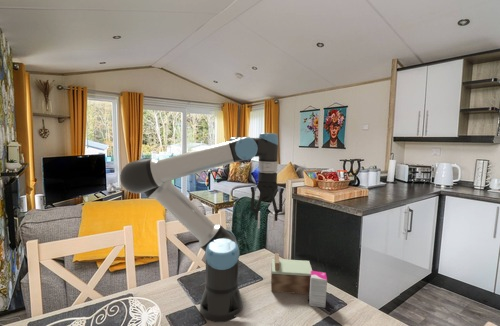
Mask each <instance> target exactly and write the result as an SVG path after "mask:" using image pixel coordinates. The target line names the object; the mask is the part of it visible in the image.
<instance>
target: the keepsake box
mask: <svg viewBox="0 0 500 326" xmlns="http://www.w3.org/2000/svg"><path fill="white" fill-rule="evenodd" d="M270 276H271V279H270V283H271V285H270V287H271V288H270V289H271V290H270V291H271V292H272V293H286V294H287V293H288V294H303V295H305V294H306V295H309V290H310V277H311V276H299V275H283V274H272V268H271V273H270Z"/></svg>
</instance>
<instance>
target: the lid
mask: <svg viewBox="0 0 500 326" xmlns="http://www.w3.org/2000/svg"><path fill="white" fill-rule="evenodd" d="M271 269H272V274H283V275H299V276H311V271H313V269H312V265H311V263H310V260H297V259H286V258H285V259H284V258H280V254H279V253H278V252H275V253H274V258H271Z"/></svg>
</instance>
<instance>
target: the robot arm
mask: <svg viewBox="0 0 500 326" xmlns="http://www.w3.org/2000/svg"><path fill="white" fill-rule="evenodd" d="M278 155H279V136H278V134H277V133H275V132H272V133H271V132H270V133H269V132H260V134H259V136H258V137H250V136H243V137H242V136H241V137H239V136H236V137H235V136H233V137H230V138H229V141H226V142H221V143H219V144H215V145H211V146H207V147H203V148H199V149H197V150H192V151H188V152H185V153H182V154H178V155H173V156H171V157H167V158H166V157H165V158H163V159H160V160H159V159H155V158H151V157H144V158H140V159H138V160H133V161H131V162H130V161H129V162H128V163H127V164H125V166H124V167H123V168H122V169H121V171H120V174H119V181H120V183H121V185H122V187H123V188H124V189H125V190H126V191H127V192H130V193H132V194H143V195H144V196H145V197H147V198H148V199H155V200H156V201H157V202H158V203H159V204H161V206H163V208H164V209H166V210H167V211H168V212H169V213H170V214H171V215H172V216H173V217H174V218H175V219H176V220H177V221H178V222H179V223H180V224H182V226H184V227H185V228H186V230H188V232H190V233H191V235H193V236H194V237H195V238H196V239H197V240H198V242H199V243H198V245H199V248H201V249H202V251H204V252H205V254H204V258H205V287H204V290H203V293H202V296H201V299H200V304H199V305H200V308H199V311H200V314H201V315H202V317H204V318H205V319H206V320H209V321H211V322H212V321H213V322H217V323H218V322H228V321H230V320H234V319H235V318H236V315H238V314H239V313H240V312H241V311H242V309H243V302H244V301H243V298H242V295H241V291H240V289H239V265H240V264H239V263H240V262H239V260H240V259H239V258H240V250H239V245H238V241H237V238H236V236H235V234H234V233H233V232H232V231H231V230H229V229H227V228H224V227H223V226H222V225H221V223H214V222H213V221H212V220H210V219H209V218H208V217H207V215H205V213H203V211H201V210H200V209H199V208H198V207H197V206H196V205H195V204H194V203H193V202H192V201H191V200H190V199H189V198H188V197H187V196H186V195H185V194H184V193H183V192H182V191H181V190H180V189H179V188H178V187H177V186H175V184H174V183H173V180H177V179H179V178H183V177H187V176H192V175H194V174H198V173H201V172H204V171H209V170H212V169H215V168H220V167H222V166H226V165H229V164H230V165H231V164H234V163H238V162H241V161H242V162H243V161H249V160H251V159H253V158H254V157H255V158H258V174H257V175H258V176H257V184H256V185H251V186H250V191H251V200H250V201H251V202H250V211H252V212H254V220H255V221H257V229H258V230H259V229H260V228H261V227H260V226H261V221H260V220H261V211H260V207H261V204H262V200H263V198H264V196H266V195H267V196H270V198H271V204H272V207H273V211H272V226H271V227H272V229H271V230H273V231H274V230H275V222H277V221H278V218H279V217H278V216H279V215H278V214H279V213H282V212H283V193H284V190H285V189H284V187H283V186H279V185H278V173H277V172H278V161H279V160H278V158H279V156H278ZM257 189H258V191H259V192H260V193H259V196H258V199H257V204H256V207H255V202H256V201H255V199H256V198H255V197H256V191H257ZM276 191H278V193H279V194H278V202H279V203H278V207H277V203H276V199H275V194H274V193H275V192H276Z"/></svg>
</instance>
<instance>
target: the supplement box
mask: <svg viewBox="0 0 500 326" xmlns="http://www.w3.org/2000/svg"><path fill="white" fill-rule="evenodd" d="M327 285H328V277H327V273H326V272H323V271H316V270H312V271H311V277H310V290H309V294H308V304H309V306H312V307H318V308H319V307H320V308H326V303H327V289H328V286H327Z"/></svg>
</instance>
